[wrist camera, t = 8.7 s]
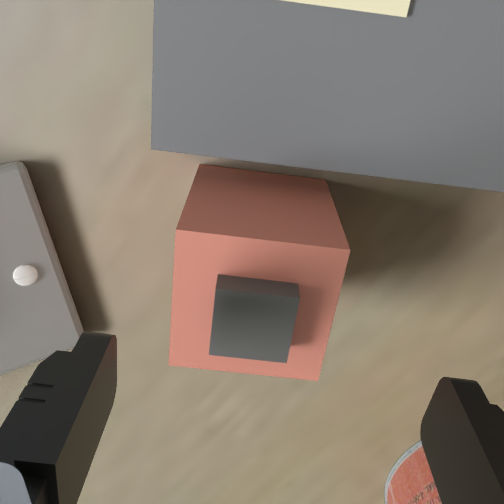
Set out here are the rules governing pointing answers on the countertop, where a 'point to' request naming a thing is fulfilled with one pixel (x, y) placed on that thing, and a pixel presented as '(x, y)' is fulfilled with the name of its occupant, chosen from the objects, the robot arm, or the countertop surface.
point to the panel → (335, 85)
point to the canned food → (411, 480)
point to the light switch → (30, 279)
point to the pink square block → (256, 273)
